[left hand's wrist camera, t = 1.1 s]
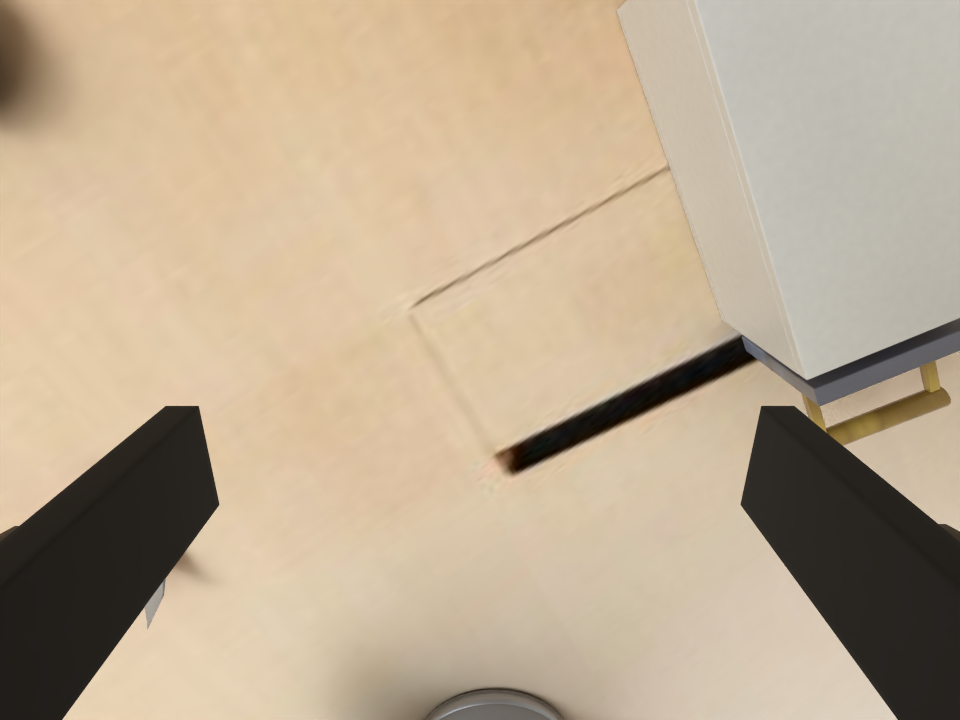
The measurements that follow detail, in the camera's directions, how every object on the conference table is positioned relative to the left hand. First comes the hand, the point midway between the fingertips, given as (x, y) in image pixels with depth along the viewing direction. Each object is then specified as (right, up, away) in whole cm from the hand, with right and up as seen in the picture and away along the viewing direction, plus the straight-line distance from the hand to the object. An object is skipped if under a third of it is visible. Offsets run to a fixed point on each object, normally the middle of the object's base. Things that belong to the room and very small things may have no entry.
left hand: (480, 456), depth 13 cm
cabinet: (+17, +16, +21) cm, 32 cm away
